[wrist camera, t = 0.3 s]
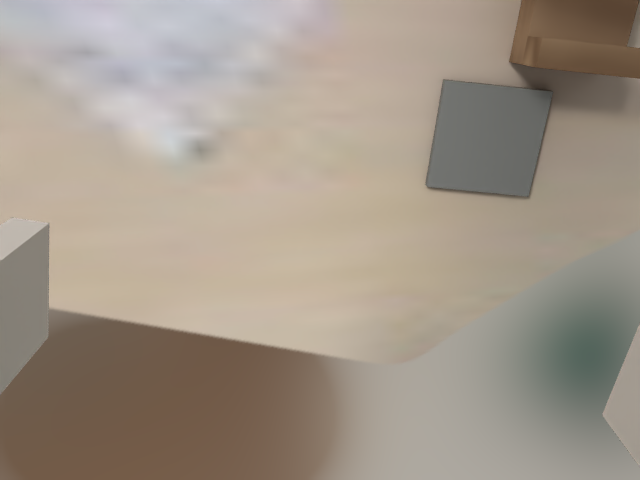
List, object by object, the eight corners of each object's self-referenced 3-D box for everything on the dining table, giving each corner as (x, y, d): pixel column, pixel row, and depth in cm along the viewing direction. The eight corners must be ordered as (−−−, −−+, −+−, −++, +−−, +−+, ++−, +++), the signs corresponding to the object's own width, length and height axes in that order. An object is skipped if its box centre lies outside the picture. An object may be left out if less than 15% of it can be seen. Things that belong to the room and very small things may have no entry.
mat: (443, 79, 38) (445, 80, 37) (549, 90, 38) (553, 91, 37) (425, 184, 40) (427, 186, 40) (525, 194, 40) (528, 196, 40)
